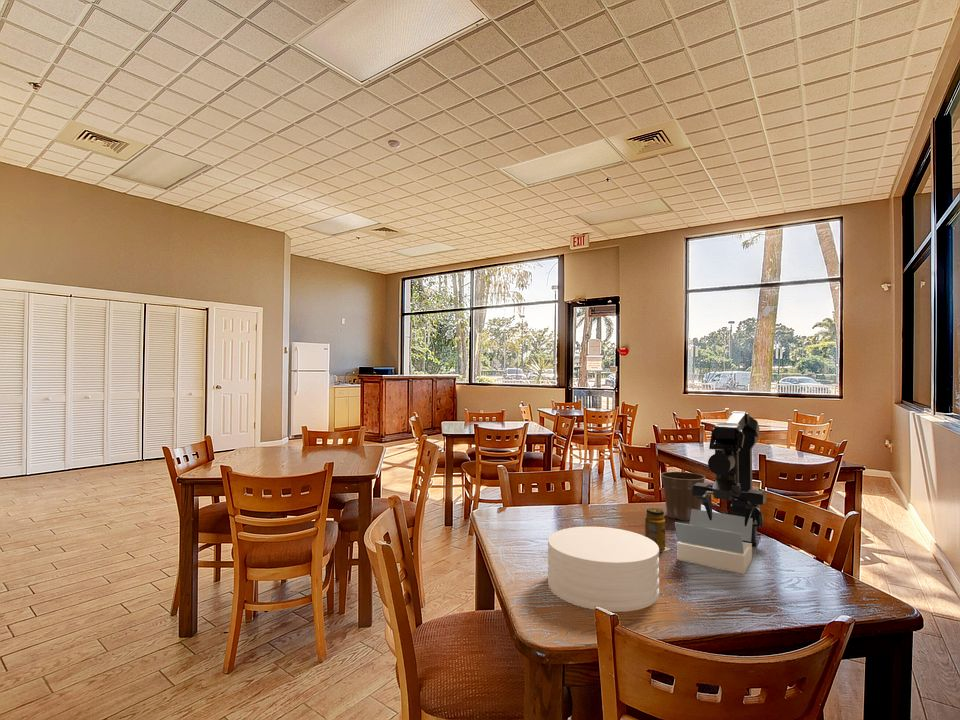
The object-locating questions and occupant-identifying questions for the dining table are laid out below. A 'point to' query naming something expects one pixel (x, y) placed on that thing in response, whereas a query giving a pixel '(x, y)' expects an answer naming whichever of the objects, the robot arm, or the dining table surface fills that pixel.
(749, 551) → the carton
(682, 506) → the plant pot
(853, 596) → the dining table surface
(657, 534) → the condiment
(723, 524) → the flap
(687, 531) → the flap
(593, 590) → the plate stack
